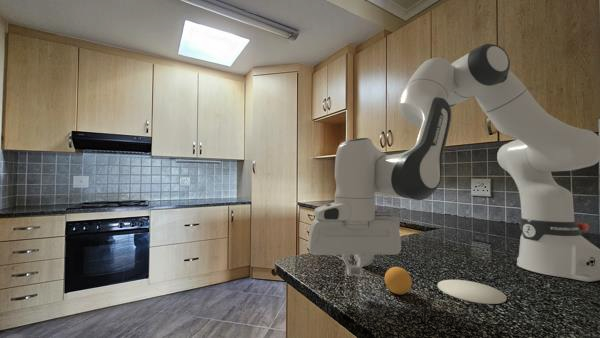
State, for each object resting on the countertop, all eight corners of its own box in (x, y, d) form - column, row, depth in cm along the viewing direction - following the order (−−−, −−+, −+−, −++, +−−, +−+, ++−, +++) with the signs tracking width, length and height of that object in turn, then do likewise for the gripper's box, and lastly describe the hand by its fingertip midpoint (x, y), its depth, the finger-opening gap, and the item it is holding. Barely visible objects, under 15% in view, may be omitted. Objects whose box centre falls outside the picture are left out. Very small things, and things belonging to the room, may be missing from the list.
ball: (403, 288, 60) (403, 263, 60) (417, 298, 54) (416, 271, 55) (380, 288, 59) (380, 263, 60) (391, 299, 54) (391, 271, 54)
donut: (377, 270, 72) (376, 234, 73) (366, 271, 71) (366, 234, 72) (359, 260, 82) (359, 228, 83) (350, 261, 81) (349, 229, 82)
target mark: (474, 279, 66) (474, 278, 66) (523, 302, 53) (523, 301, 53) (426, 281, 64) (426, 280, 64) (464, 305, 51) (464, 304, 51)
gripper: (393, 209, 61) (393, 269, 60) (307, 209, 59) (306, 270, 59) (406, 212, 55) (407, 279, 54) (311, 211, 53) (310, 280, 52)
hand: (354, 274), depth 56 cm, fingers closed
